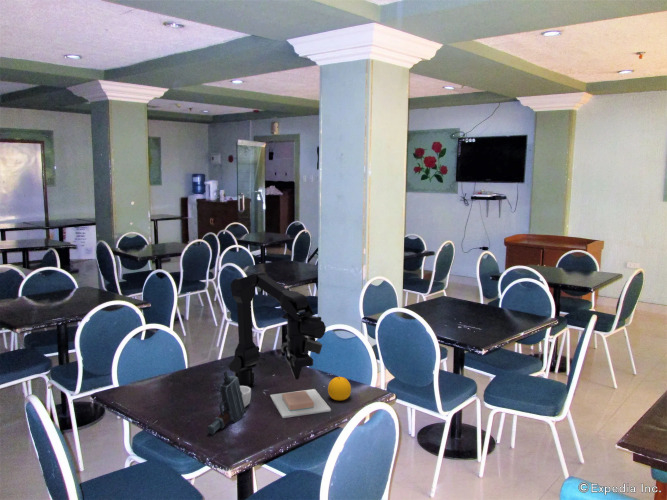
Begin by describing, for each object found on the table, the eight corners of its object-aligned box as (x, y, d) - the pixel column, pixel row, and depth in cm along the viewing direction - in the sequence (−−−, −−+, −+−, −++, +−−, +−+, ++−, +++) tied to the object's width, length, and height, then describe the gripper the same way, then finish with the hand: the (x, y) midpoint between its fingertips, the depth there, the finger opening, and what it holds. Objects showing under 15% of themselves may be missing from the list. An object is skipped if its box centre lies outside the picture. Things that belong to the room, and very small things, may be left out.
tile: (282, 399, 182) (289, 411, 173) (282, 393, 182) (289, 405, 172) (305, 396, 185) (313, 407, 175) (305, 390, 184) (313, 402, 175)
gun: (197, 392, 154) (230, 364, 166) (209, 440, 160) (240, 409, 172) (204, 394, 153) (237, 365, 165) (216, 442, 159) (247, 411, 171)
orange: (348, 404, 180) (348, 382, 179) (325, 402, 181) (325, 380, 180) (352, 394, 187) (352, 374, 186) (330, 393, 189) (330, 372, 188)
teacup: (236, 399, 184) (236, 384, 183) (255, 403, 180) (255, 387, 180) (218, 410, 175) (218, 394, 174) (238, 415, 171) (238, 398, 171)
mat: (282, 418, 169) (282, 416, 169) (270, 396, 186) (270, 394, 186) (331, 411, 174) (331, 409, 174) (314, 390, 191) (314, 389, 191)
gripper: (328, 338, 171) (328, 386, 173) (311, 323, 188) (311, 367, 190) (294, 342, 167) (295, 390, 169) (280, 326, 184) (280, 370, 186)
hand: (296, 379), depth 179 cm, fingers closed
